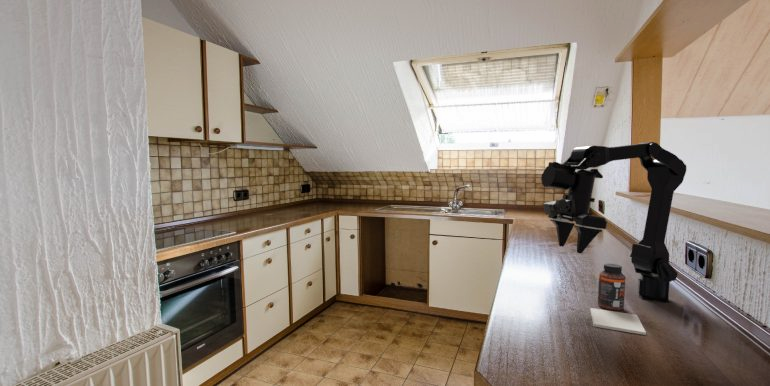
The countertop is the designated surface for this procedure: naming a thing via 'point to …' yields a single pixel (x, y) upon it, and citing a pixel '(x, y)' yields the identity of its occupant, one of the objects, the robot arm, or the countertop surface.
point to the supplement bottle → (611, 287)
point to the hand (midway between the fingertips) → (569, 249)
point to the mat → (617, 321)
